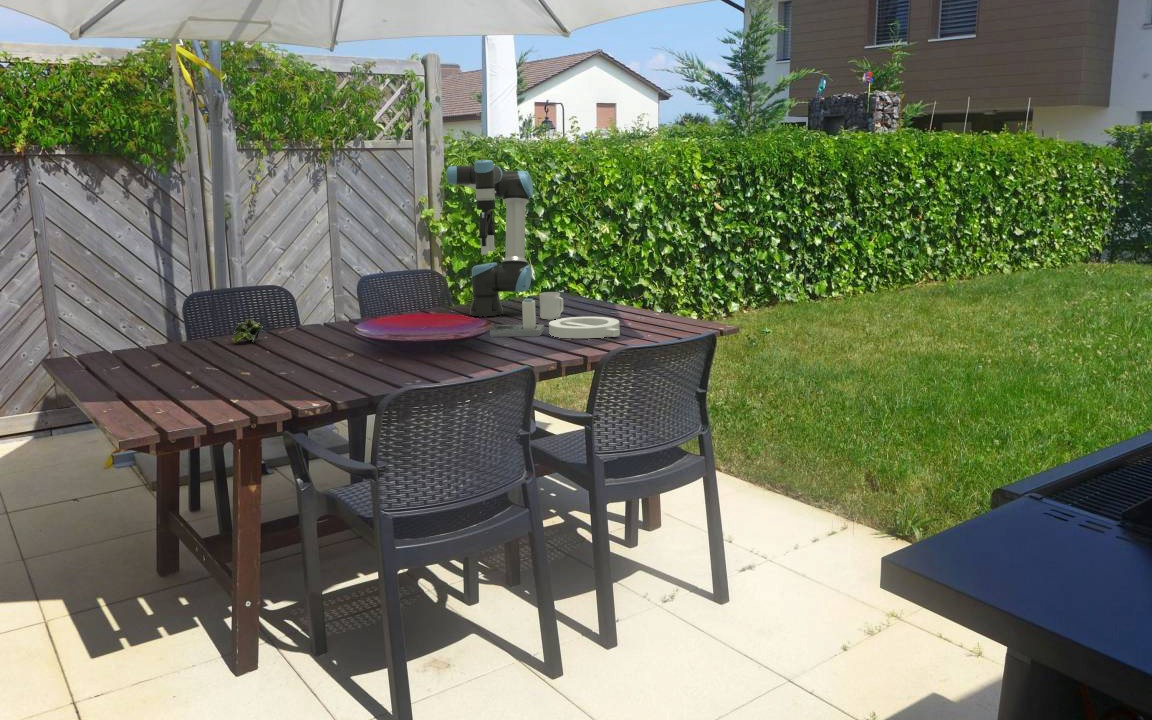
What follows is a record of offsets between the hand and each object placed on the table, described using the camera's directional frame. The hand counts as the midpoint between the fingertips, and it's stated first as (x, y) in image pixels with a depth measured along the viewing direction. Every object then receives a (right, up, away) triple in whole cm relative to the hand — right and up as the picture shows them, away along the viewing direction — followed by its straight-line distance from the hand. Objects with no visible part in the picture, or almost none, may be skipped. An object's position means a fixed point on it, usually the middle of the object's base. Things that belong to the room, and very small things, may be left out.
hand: (488, 253), depth 378 cm
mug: (+26, -25, +31) cm, 47 cm away
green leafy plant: (-94, -37, -6) cm, 101 cm away
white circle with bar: (+39, -33, -5) cm, 51 cm away
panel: (+12, -33, -2) cm, 35 cm away
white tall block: (+17, -33, -3) cm, 37 cm away
